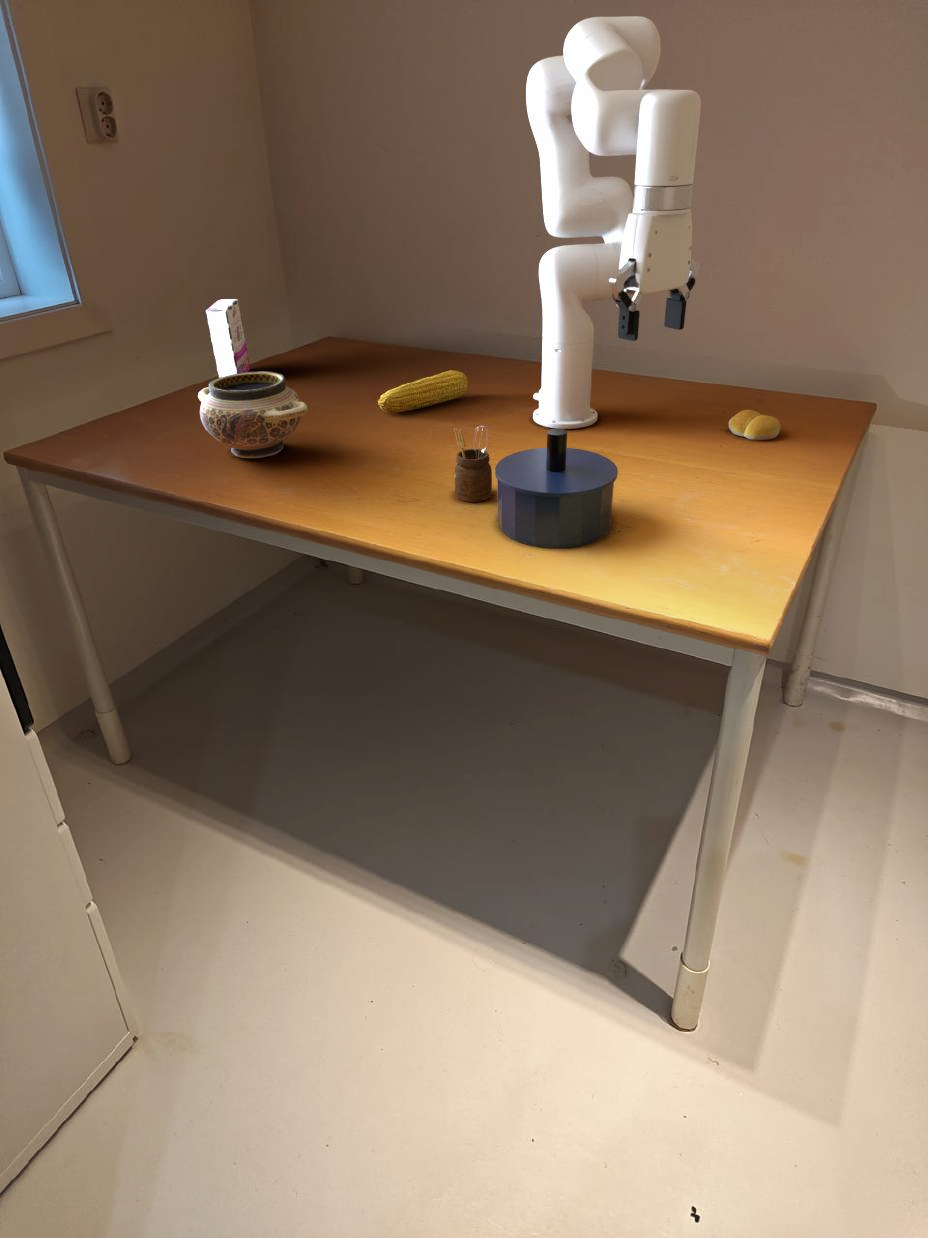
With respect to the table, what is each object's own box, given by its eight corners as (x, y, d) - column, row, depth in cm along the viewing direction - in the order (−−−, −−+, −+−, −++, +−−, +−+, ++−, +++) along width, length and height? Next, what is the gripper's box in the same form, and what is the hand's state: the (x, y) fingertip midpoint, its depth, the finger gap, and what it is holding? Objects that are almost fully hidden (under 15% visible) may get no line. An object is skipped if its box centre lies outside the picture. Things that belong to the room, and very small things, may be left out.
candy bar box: (230, 370, 202) (218, 299, 194) (251, 369, 202) (239, 298, 194) (218, 383, 193) (204, 309, 184) (239, 383, 193) (227, 308, 184)
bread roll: (763, 444, 151) (767, 423, 149) (721, 432, 157) (724, 411, 154) (788, 433, 155) (792, 412, 153) (746, 422, 161) (749, 401, 159)
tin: (477, 517, 128) (476, 467, 124) (563, 491, 135) (565, 444, 131) (542, 559, 116) (544, 505, 112) (633, 528, 123) (638, 477, 119)
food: (456, 393, 182) (455, 365, 179) (472, 399, 178) (471, 370, 175) (374, 413, 171) (371, 384, 168) (389, 420, 167) (386, 391, 164)
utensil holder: (499, 494, 135) (499, 421, 129) (473, 507, 131) (471, 432, 125) (472, 485, 138) (471, 414, 132) (446, 497, 135) (443, 424, 128)
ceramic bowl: (332, 466, 155) (337, 383, 149) (255, 473, 141) (259, 381, 136) (245, 441, 168) (248, 364, 163) (167, 445, 154) (168, 360, 149)
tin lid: (471, 471, 124) (470, 427, 121) (566, 446, 132) (567, 404, 128) (543, 511, 111) (544, 464, 108) (643, 481, 119) (647, 436, 116)
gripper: (682, 193, 118) (670, 320, 127) (595, 203, 109) (589, 339, 118) (727, 196, 113) (711, 328, 122) (639, 207, 104) (628, 348, 113)
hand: (651, 333), depth 120 cm, fingers open, 9 cm apart
